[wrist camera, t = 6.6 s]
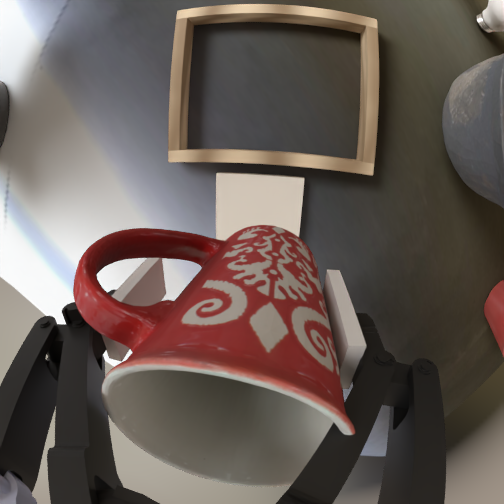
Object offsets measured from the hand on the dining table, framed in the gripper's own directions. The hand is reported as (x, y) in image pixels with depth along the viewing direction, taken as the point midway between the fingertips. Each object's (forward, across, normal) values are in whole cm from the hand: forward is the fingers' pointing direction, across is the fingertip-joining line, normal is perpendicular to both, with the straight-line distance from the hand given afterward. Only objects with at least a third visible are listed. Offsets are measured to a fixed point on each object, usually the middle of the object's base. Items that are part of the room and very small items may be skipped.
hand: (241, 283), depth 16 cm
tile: (+15, 0, 0) cm, 15 cm away
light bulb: (+15, +29, +32) cm, 45 cm away
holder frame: (+15, +1, +15) cm, 21 cm away
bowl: (+15, +25, +14) cm, 32 cm away
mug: (+4, 0, 0) cm, 4 cm away
